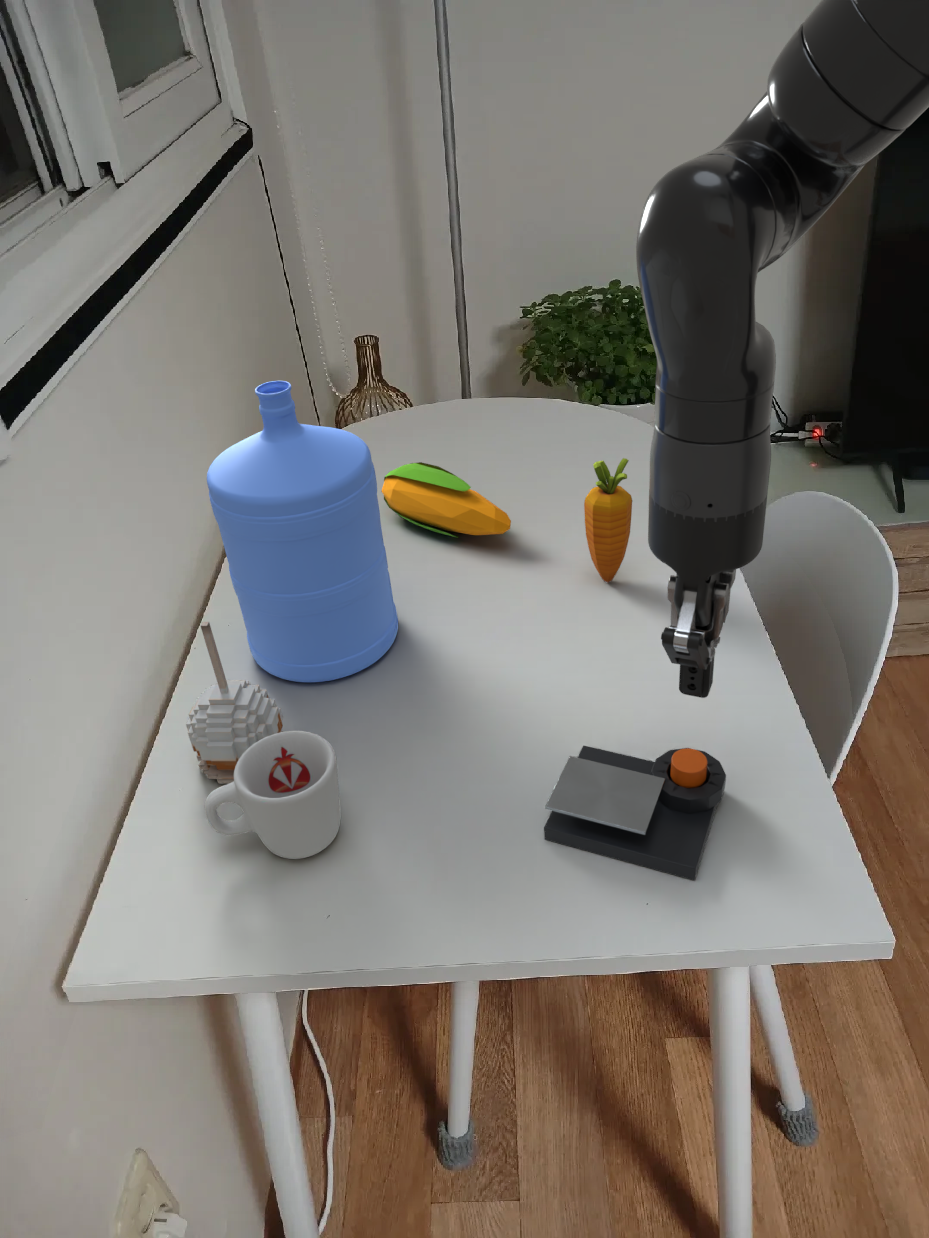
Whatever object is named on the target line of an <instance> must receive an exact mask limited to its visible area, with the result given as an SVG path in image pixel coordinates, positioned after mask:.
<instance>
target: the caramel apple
mask: <svg viewBox="0 0 929 1238" xmlns="http://www.w3.org/2000/svg"><path fill="white" fill-rule="evenodd" d="M200 629H201V632H202V636H203V640H204V642H205V646H206V649H207V652H208V656H209V659H210V663H211V665H212V669H213V672H214V676H215V678H216V683H215V684H211V685H210V686H209V687H205V689H204V691H203V692H200V695H199V697H196V698H195V701H194V703H193V704H192V706H191V709H190V711H189V713H188V718H187V720H186V723H185V727H186V729H187V735H188V738H189V741H190V744H191V748H192V750H193V752H196V754H197V755H196V759H197V761H198V762H199V763H198V768H199V770H201V771H202V773H203V775H206V777H207V779H209V780H216V781H217V784H229V783H231V782H233V781H234V770H235V766H236V764H237V762H238V760H239V758H240V757H241V756H242V754H243V753H244V752H245V751H246V750H247V749H248V748H249V747H251V746H252V745H253V744H254V743H256V742H258V741H259V740H261V739H263V738H265V737H268V736H270V735H273V734H276V733H280V732H284V731H282V730H283V725H284V724H283V722H282V721H283V719H284V714H283V711H282V708H281V707H279V706H278V704H277V701H276V699H275V698H270V697H269V694H268V690H267V689H261V687H260V684H250V680H246V679H227V678H226V675H225V671H224V668H223V665H222V661H221V657H220V655H219V651H218V648H217V643H216V640H215V637H214V634H213V629H212V626H211V624H210V621H202V622H201V624H200Z"/></svg>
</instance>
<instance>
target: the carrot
mask: <svg viewBox="0 0 929 1238" xmlns="http://www.w3.org/2000/svg"><path fill="white" fill-rule="evenodd" d="M629 462H630V461H629V459H628V458H625V457H623V458H622V459H621V460H620V462H619V463H618V466H617V468H616V470H615V473H614V476H613V475H611V472H610V470H609V468H608V466H607V464H606V461H604V460H598V461H595V462H594V463H593V464H592V467H593V469H594V472H595V474H596V475H595V476H596V477H597V481H595V485H596V486H595V487H592V488H591V489H590V490H589V492H588V494H587V495H586V497H585V498H584V502H583V503H584V504H583V507H584V508H583V509H584V527H585V538H586V542H587V548H588V550H589V554H590V558H591V561H592V563H593V566H594V567H595V570H596V571H597V574H598V575H599V576H600V578H601V579H602V580H603V581H604V582H605V583H607V584H609V583H611V582H612V581H613V580H614V578H615V576H616V575H617V573H618V572H619V569H620V568H621V566H622V563H623V561H624V559H625V557H626V552H627V548H628V544H629V540H630V534H631V528H632V527H631V525H632V515H633V513H632V512H633V498H632V495H631V493H630V492H628V491H627V490H626V489H625V488H624V487H622V486H621V485H619V484H620V483H621V482H622V481H623V480H627V479H628V474H627V473H625V472H624V470H625V468H626V466H627V464H628V463H629Z"/></svg>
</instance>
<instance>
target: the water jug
mask: <svg viewBox="0 0 929 1238" xmlns="http://www.w3.org/2000/svg"><path fill="white" fill-rule="evenodd" d="M291 391H292V385H291V383H290V382H288V381H286V380H272V381H271V380H270V381H267V382H264V383H262V384H260V385H258V386H256V387H255V389H254V392H255V395H256V397H258V401H259V406H258V409H259V410H258V411H259V414H260V415H261V419H262V423H263V428H262V430H261V431H259V432H256V433H254V434H253V435H251V436H249V437H248V436H247V438H243V440H240V441H238V442H237V443H234V444H233V445H231V446H229V447H227V448H226V449H225V450H224V451H222V452H221V453H220V454H219V455H218V456H216V457H215V459H213V461H212V462H211V464H210V465H209V467H208V470H207V473H206V484H207V488H208V496H209V502H210V506H211V509H212V514H213V516H214V519H215V521H216V523H217V526H218V529H219V532H220V536H221V540H222V544H223V547H224V552H225V556H226V560H227V563H228V571H229V577H230V580H231V583H232V588H233V590H234V593H235V595H236V597H237V600H238V604H239V608H240V612H241V615H242V618H243V621H244V626H245V629H246V630H245V631H246V639H247V643H248V647H249V650H250V654H251V656H252V658H253V660H254V662H255V663H256V664H257V665H258V666H259V667H260V668H261V669H263V670H264V671H265V672H267V673H268V674H270V675H272V676H274V677H277V678H280V679H282V680H287V681H290V682H297V683H322V682H328V681H335V680H339V679H342V678H346V677H349V676H352V675H354V674H356V673H357V674H358V673H359V672H361V671H363V670H365V669H367V668H369V667H370V666H372V665H373V664H374V663H377V662H378V661H379V660H380V659H381V658H383V656H384V655H385V654H387V652H388V651H389V650H390V648H391V647H392V645H393V644H394V642H395V640H396V637H397V634H398V631H399V619H398V612H397V607H396V603H395V601H394V596H393V589H392V588H393V587H392V583H391V577H390V576H391V575H390V572H389V563H388V558H387V552H386V550H387V549H386V546H385V542H384V537H383V529H382V522H381V513H380V505H379V504H380V503H379V499H378V482H377V476H376V475H377V474H376V470H375V465H374V463H373V460H372V453H371V450H370V447H369V445H368V444H367V443H366V442H365V441H364V440H363V439H362V438H361V437H360V436H358V435H356V434H355V433H353V432H350V431H348V430H344V429H341V428H337V427H331V426H321V425H314V424H312V425H311V424H305V423H300V422H299V421H298V418H297V414H296V405H295V403H296V402H295V401H294V400H293V398H292V393H291Z"/></svg>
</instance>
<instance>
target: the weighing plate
mask: <svg viewBox="0 0 929 1238" xmlns="http://www.w3.org/2000/svg"><path fill="white" fill-rule="evenodd" d="M577 757H578V756H577ZM577 757H576V756H572V755H569V756H568V758H567V761H566V763H565V765H564V767H563V769H562V771H561V773H560V775H559V777H558V778H557V781H556V784H555V785H554V787H553V789H552V791H551V793H550V795H549V798H548V799H547V802H546V803H545V805H544V809H545V810H548V811H551V812H552V811H555V812H559V813H563V814H567V815H570V816H574V817H578V818H582V819H586V820H589V821H593V822H597V823H601V824H605V825H608V826H612V827H616V828H620V829H624V830H627V831H631V832H635V833H639V834H643V835H646V832H647V829H648V826H649V824H650V821H651V818H652V816H653V813H654V810H655V807H656V805H657V802H658V799H659V797H660V794H661V791H662V788H663V786H664V783H665V778H661V777H657V776H653V775H648V774H644V773H640V772H636V771H632V770H627V769H623V768H619V767H615V766H611V765H606V764H602V763H598V762H594V761H590V760H585V759H581V758H577Z"/></svg>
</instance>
